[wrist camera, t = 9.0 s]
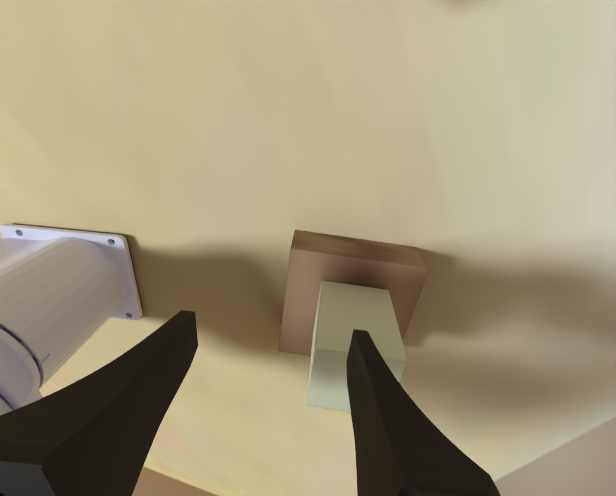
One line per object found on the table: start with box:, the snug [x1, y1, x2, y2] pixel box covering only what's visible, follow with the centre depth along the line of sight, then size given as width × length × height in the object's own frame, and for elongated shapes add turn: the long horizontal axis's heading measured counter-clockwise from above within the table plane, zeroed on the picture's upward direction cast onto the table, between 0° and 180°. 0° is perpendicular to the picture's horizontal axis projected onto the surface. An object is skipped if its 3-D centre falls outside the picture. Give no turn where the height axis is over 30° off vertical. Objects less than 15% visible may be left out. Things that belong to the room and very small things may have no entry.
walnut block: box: [278, 230, 429, 355], centre depth 23 cm, size 9×9×4 cm
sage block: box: [306, 280, 408, 413], centre depth 18 cm, size 4×4×6 cm
